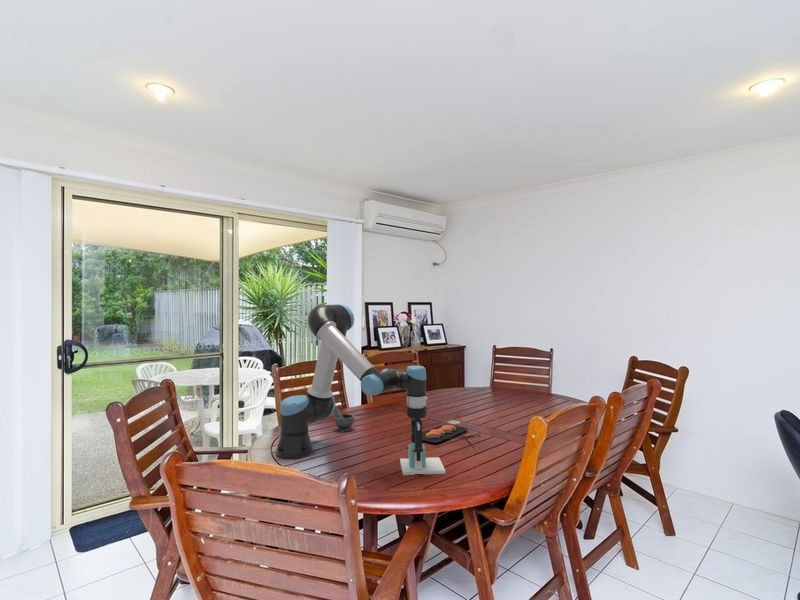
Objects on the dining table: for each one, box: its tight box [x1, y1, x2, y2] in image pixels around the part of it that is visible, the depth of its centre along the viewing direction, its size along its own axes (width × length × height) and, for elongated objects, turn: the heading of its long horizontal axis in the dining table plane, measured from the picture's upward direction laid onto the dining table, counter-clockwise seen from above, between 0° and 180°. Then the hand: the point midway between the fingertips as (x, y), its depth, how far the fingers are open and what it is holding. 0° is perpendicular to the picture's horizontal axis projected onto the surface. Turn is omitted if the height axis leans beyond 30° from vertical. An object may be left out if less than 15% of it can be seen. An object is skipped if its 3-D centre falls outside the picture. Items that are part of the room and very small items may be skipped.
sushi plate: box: [422, 423, 481, 450], centre depth 209 cm, size 29×30×4 cm
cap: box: [407, 443, 427, 468], centre depth 173 cm, size 6×6×7 cm
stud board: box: [399, 456, 446, 476], centre depth 173 cm, size 16×14×6 cm
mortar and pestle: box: [333, 405, 355, 432], centre depth 223 cm, size 11×9×12 cm
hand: (416, 463), depth 173 cm, fingers closed on stud board, 9 cm apart
